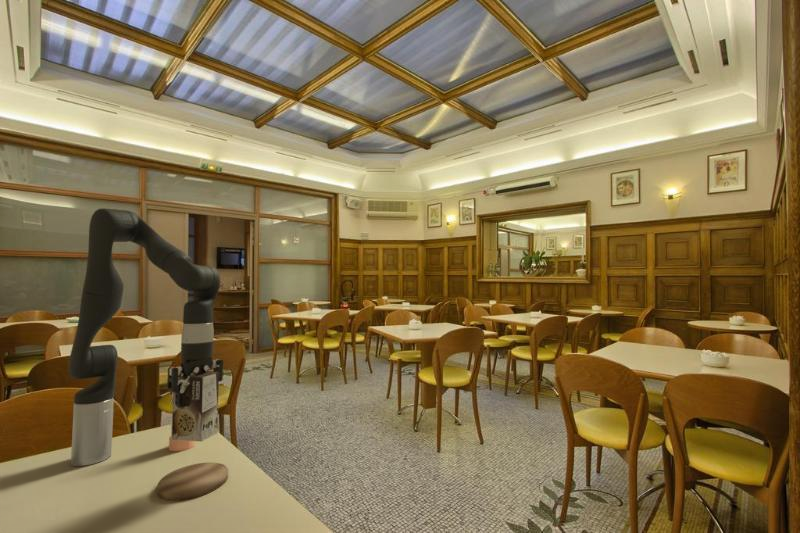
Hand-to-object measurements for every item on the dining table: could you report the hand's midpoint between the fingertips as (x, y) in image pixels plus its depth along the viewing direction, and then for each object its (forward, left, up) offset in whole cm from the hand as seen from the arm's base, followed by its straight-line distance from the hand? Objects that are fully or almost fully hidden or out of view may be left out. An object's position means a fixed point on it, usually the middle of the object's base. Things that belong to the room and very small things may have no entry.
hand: (195, 403), depth 97 cm
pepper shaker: (-25, +12, -21) cm, 34 cm away
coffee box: (0, 0, -9) cm, 9 cm away
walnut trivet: (0, 0, -20) cm, 20 cm away
